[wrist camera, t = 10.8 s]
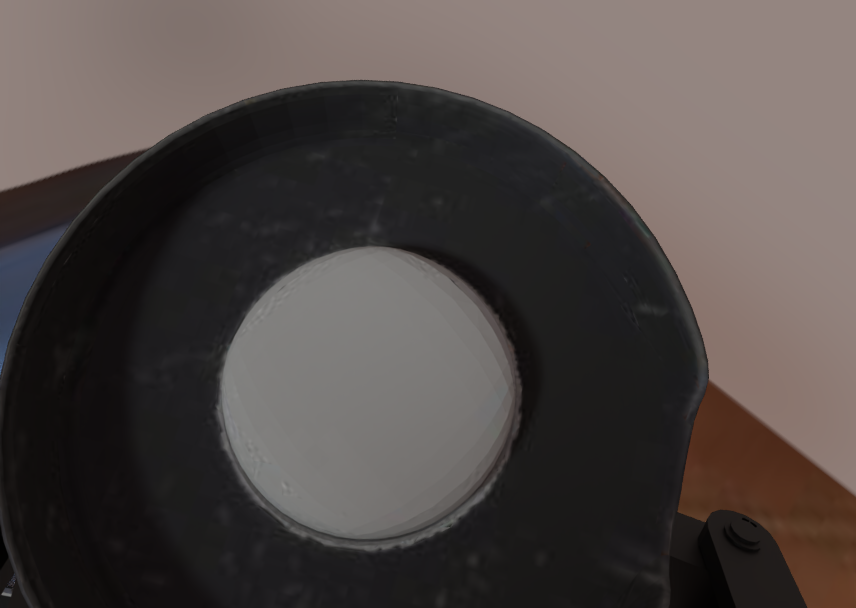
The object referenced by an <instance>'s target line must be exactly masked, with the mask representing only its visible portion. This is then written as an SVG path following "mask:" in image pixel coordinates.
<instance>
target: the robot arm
mask: <svg viewBox="0 0 856 608" xmlns="http://www.w3.org/2000/svg"><path fill="white" fill-rule="evenodd" d="M13 575H14V570H13V567H12V564H11V562H10V559H9V556H8V553H7V550H6V547H5V544H4V541H3V535H2V530H1V525H0V596H1V594H2V593H3V591H4V589H5V588H6V586H7V585H8V583H9V581H10V580H11V578H12V576H13ZM669 580H670V589H671V592H670V605H669V608H807V606H806V604H805V602H804V599H803V597H802V595H801V593H800V591H799V589H798V587H797V585H796V583H795V580H794V578H793V576H792V574H791V572H790V570H789V568H788V566H787V564H786V561H785V559H784V557H783V555H782V553H781V551H780V549H779V547H778V545H777V543H776V542H775V540H774V539H773V537H772V536H771V534H770V533H769V532H768V531H767V530H766V529H764V528H763V527H762V526H761V525H760V524H759V523H757V522H756V521H754V520H752V519H751V518H749V517H747V516H745V515H743V514H740V513H737V512H734V511H729V510H718V511H715V512H712V513H711V514H710V516H709V517H708V519H707V521H706V523H705V522H702V521H700V520H697V519H694V518H692V517H689V516H686V515H683V514H681V513H678V512H677V516H676V521H675V527H674V533H673V540H672V547H671V553H670V560H669ZM8 608H29V606H28V604H27V602H26V600H25V598H24V597H23V595H22V593H21V590H20V587H19V584H18V582H17V579H16V582H15V585H14V588H13V591H12V595H11V598H10V601H9V604H8Z"/></svg>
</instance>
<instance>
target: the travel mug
mask: <svg viewBox="0 0 856 608" xmlns="http://www.w3.org/2000/svg"><path fill="white" fill-rule="evenodd" d="M708 373H709V370H708V359H707V355H706V351H705V347H704V342H703V338H702V335H701V332H700V329H699V327H698V324H697V321H696V318H695V315H694V312H693V309H692V307H691V304H690V302H689V300H688V298H687V296H686V294H685V291H684V289H683V287H682V285H681V283H680V281H679V279H678V276H677V274H676V272H675V270H674V269H673V267H672V265H671V263H670V262H669V260H668V258H667V256H666V255H665V253H664V251H663V250H662V248H661V246H660V245H659V243H658V241H657V239H656V238H655V236H654V235H653V234H652V232H651V231H650V229H649V228H648V227H647V225H646V224H645V223H644V221H643V220H642V219H641V217H640V216H639V215H638V213H637V212H636V211H635V209H634V208H633V206H631V204H630V203H629V202H628V201H627V200H626V199H625V198H624V197H623V196H622V195H621V193H620V192H619V191H618V190H617V189H616V188H615V187H614V186H613V185H612V184H611V183H610V182H609V181H608V180H607V179H606V177H605V176H603V175H602V174H601V173H600V172H599V171H598V170H596V169H595V168H594V167H593V166H592V165H590V164H589V163H588V162H587V161H586V160H585V159H584V158H582V157H581V156H580V155H579V154H578V153H576V152H575V151H574V150H572V149H571V148H570V147H568V146H567V145H565V144H564V143H562V142H561V141H559V140H558V139H556V138H555V137H553V136H552V135H550V134H549V133H547V132H546V131H544V130H542V129H541V128H539V127H537V126H535V125H533V124H531V123H529V122H528V121H526V120H524V119H522V118H520V117H518V116H516V115H514V114H512V113H511V112H508V111H506V110H503V109H501V108H498V107H495V106H493V105H490V104H488V103H485V102H483V101H480V100H478V99H475V98H472V97H469V96H465V95H461V94H458V93H454V92H450V91H447V90H443V89H439V88H435V87H428V86H422V85H416V84H410V83H403V82H394V81H372V80H350V81H333V82H320V83H313V84H308V85H302V86H296V87H290V88H284V89H280V90H276V91H273V92H269V93H266V94H262V95H258V96H255V97H251V98H248V99H245V100H242V101H240V102H237V103H234V104H232V105H229V106H227V107H225V108H222V109H220V110H217V111H215V112H212V113H210V114H207V115H205V116H203V117H201V118H200V119H198V120H196V121H194V122H192V123H190V124H189V125H187V126H185V127H183V128H181V129H179V130H177V131H176V132H174V133H172V134H170V135H168V136H167V137H166V138H164V139H163V140H161V141H160V142H158V143H157V144H156V145H154V146H153V147H151V148H150V149H148V150H147V151H146V152H144V153H143V154H141V155H140V156H138V157H137V158H136V159H134V160H133V161H132V162H131V163H130V164H129V165H127V166H126V167H125V168H124V169H123V170H122V171H121V172H119V173H118V174H117V175H116V176H115V177H114V178H113V179H112V180H110V181H109V182H108V183H107V184H106V185H105V186H104V187H102V188H101V190H100V191H99V192H98V193H97V194H96V195H95V196H94V197H93V199H92V200H91V201H90V202H89V203H88V204H87V205H86V206H85V208H84V209H83V210H82V211H81V212H80V213H79V214H78V215H77V216H76V218H75V219H74V220H73V221H72V222H71V224H70V225H69V227H68V228H67V230H66V231H65V232H64V234H63V235H62V237H61V238H60V240H59V241H58V242H57V244H56V245H55V247H54V248H53V250H52V251H51V252H50V254H49V255H48V257H47V258H46V260H45V262H44V264H43V266H42V268H41V270H40V271H39V273H38V275H37V277H36V279H35V281H34V283H33V285H32V286H31V288H30V290H29V292H28V294H27V296H26V298H25V300H24V303H23V305H22V308H21V310H20V313H19V316H18V318H17V321H16V324H15V326H14V329H13V331H12V334H11V337H10V339H9V342H8V345H7V350H6V354H5V358H4V362H3V367H2V371H1V375H0V525H1V530H2V535H3V541H4V544H5V547H6V550H7V553H8V556H9V559H10V562H11V564H12V567H13V570H14V573H15V576H16V579H17V582H18V584H19V587H20V590H21V593H22V595H23V597H24V598H25V600H26V602H27V604H28V606H29V608H669V605H670V592H671V589H670V580H669V560H670V553H671V547H672V540H673V533H674V527H675V521H676V516H677V510H678V505H679V500H680V494H681V488H682V482H683V476H684V470H685V464H686V459H687V453H688V448H689V443H690V439H691V434H692V429H693V424H694V420H695V417H696V414H697V411H698V408H699V405H700V403H701V401H702V399H703V397H704V395H705V391H706V387H707V383H708V379H709V374H708Z"/></svg>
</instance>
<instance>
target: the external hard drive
mask: <svg viewBox="0 0 856 608" xmlns="http://www.w3.org/2000/svg"><path fill="white" fill-rule="evenodd" d="M13 588H14V587H8V586H6V588H5V589H4V591H3V593H2V594H1V596H0V608H8V604H9V601H10V598H11V595H12V591H13Z"/></svg>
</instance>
